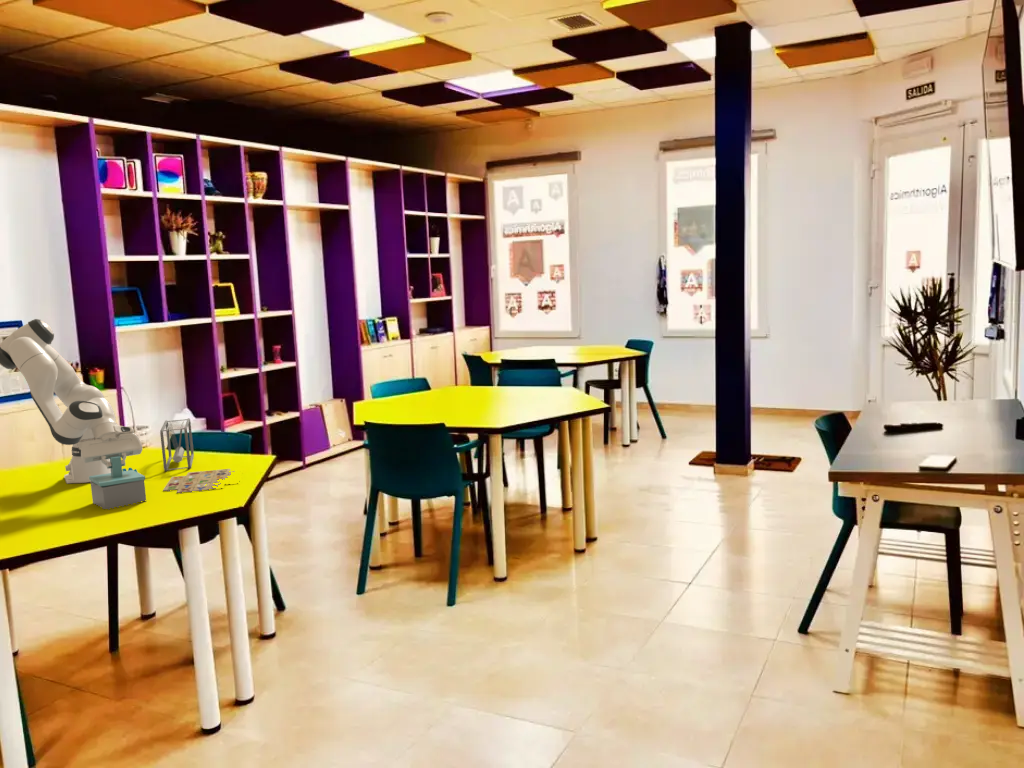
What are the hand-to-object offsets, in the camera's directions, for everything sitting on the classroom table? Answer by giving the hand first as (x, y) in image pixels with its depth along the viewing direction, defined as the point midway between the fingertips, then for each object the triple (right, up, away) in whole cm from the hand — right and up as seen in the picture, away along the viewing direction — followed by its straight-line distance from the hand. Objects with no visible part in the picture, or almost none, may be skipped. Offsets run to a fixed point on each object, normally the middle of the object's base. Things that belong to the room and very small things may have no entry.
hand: (116, 466), depth 304 cm
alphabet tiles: (+21, -9, +29) cm, 37 cm away
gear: (-6, -11, +23) cm, 26 cm away
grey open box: (0, -13, +2) cm, 13 cm away
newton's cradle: (-2, -5, +64) cm, 64 cm away
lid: (0, -5, +1) cm, 5 cm away
